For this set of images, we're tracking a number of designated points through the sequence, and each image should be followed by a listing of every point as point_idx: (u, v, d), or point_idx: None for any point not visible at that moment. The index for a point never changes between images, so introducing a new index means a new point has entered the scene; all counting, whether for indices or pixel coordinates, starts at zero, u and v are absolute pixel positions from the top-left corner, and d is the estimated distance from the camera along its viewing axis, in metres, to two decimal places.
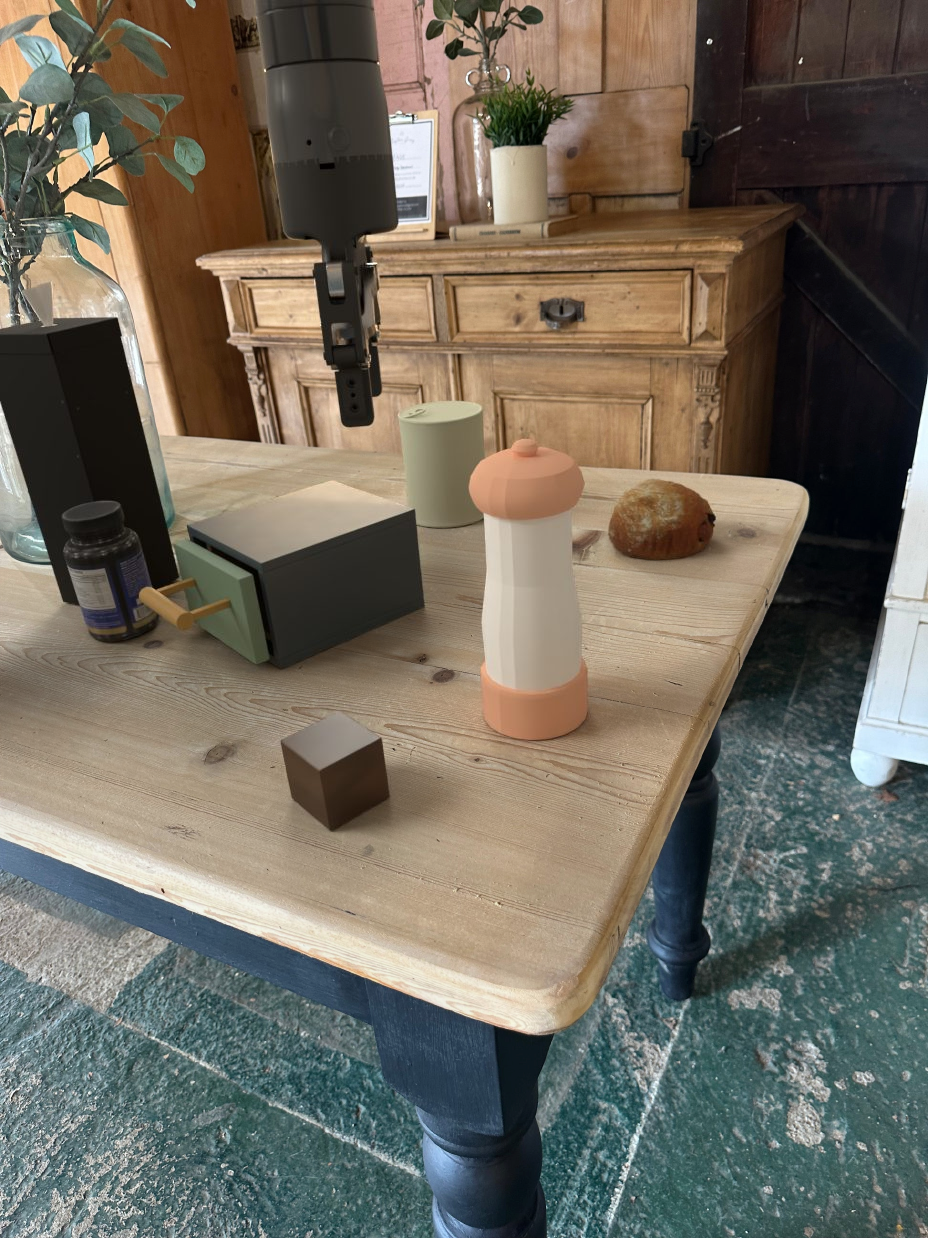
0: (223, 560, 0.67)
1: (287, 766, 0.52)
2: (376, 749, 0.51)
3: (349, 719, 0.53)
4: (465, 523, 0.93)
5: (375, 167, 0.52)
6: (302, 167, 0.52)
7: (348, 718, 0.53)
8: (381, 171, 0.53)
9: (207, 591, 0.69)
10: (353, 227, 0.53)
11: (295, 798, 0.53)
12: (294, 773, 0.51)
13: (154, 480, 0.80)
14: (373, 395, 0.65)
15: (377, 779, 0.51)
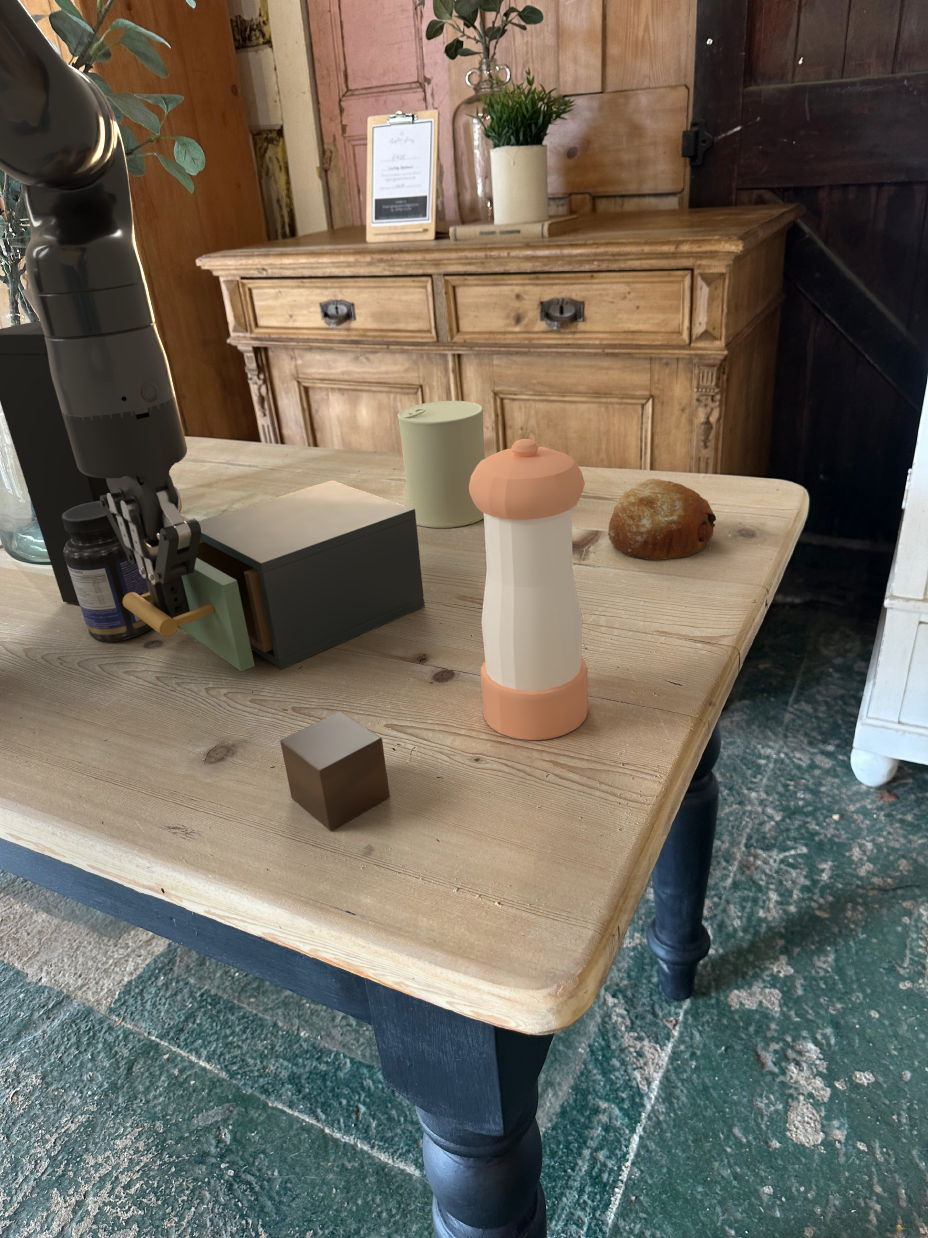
0: (207, 565, 0.66)
1: (287, 766, 0.52)
2: (376, 749, 0.51)
3: (349, 719, 0.53)
4: (465, 523, 0.93)
5: (174, 408, 0.60)
6: (118, 419, 0.56)
7: (348, 718, 0.53)
8: (177, 409, 0.60)
9: (191, 596, 0.68)
10: (169, 461, 0.59)
11: (295, 798, 0.53)
12: (294, 773, 0.51)
13: None
14: None
15: (377, 779, 0.51)
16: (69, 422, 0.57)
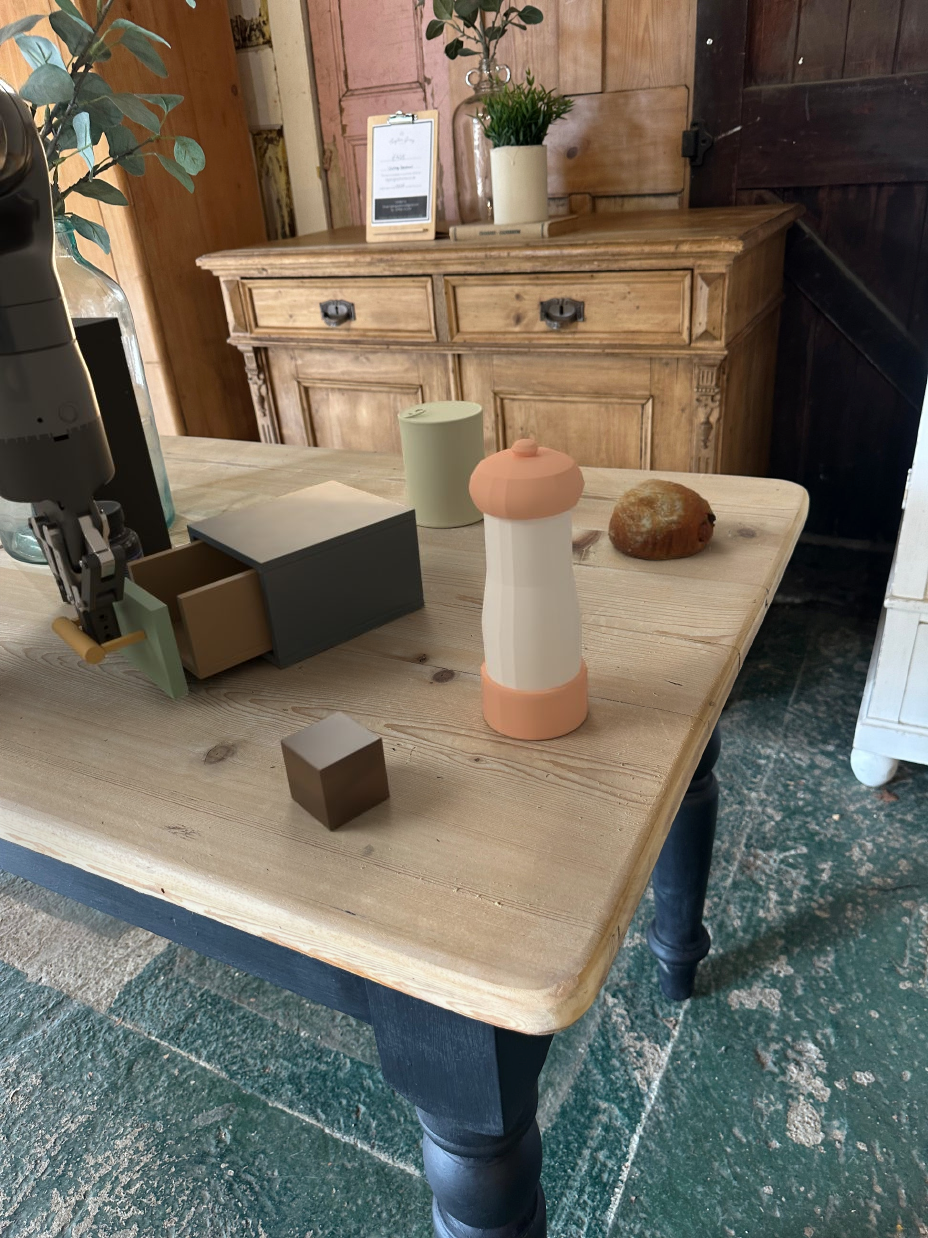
0: (139, 589, 0.63)
1: (287, 766, 0.52)
2: (376, 749, 0.51)
3: (349, 719, 0.53)
4: (465, 523, 0.93)
5: (98, 429, 0.57)
6: (34, 442, 0.54)
7: (348, 718, 0.53)
8: (101, 430, 0.57)
9: (125, 620, 0.65)
10: (92, 485, 0.57)
11: (295, 798, 0.53)
12: (294, 773, 0.51)
13: (154, 480, 0.80)
14: None
15: (377, 779, 0.51)
16: None
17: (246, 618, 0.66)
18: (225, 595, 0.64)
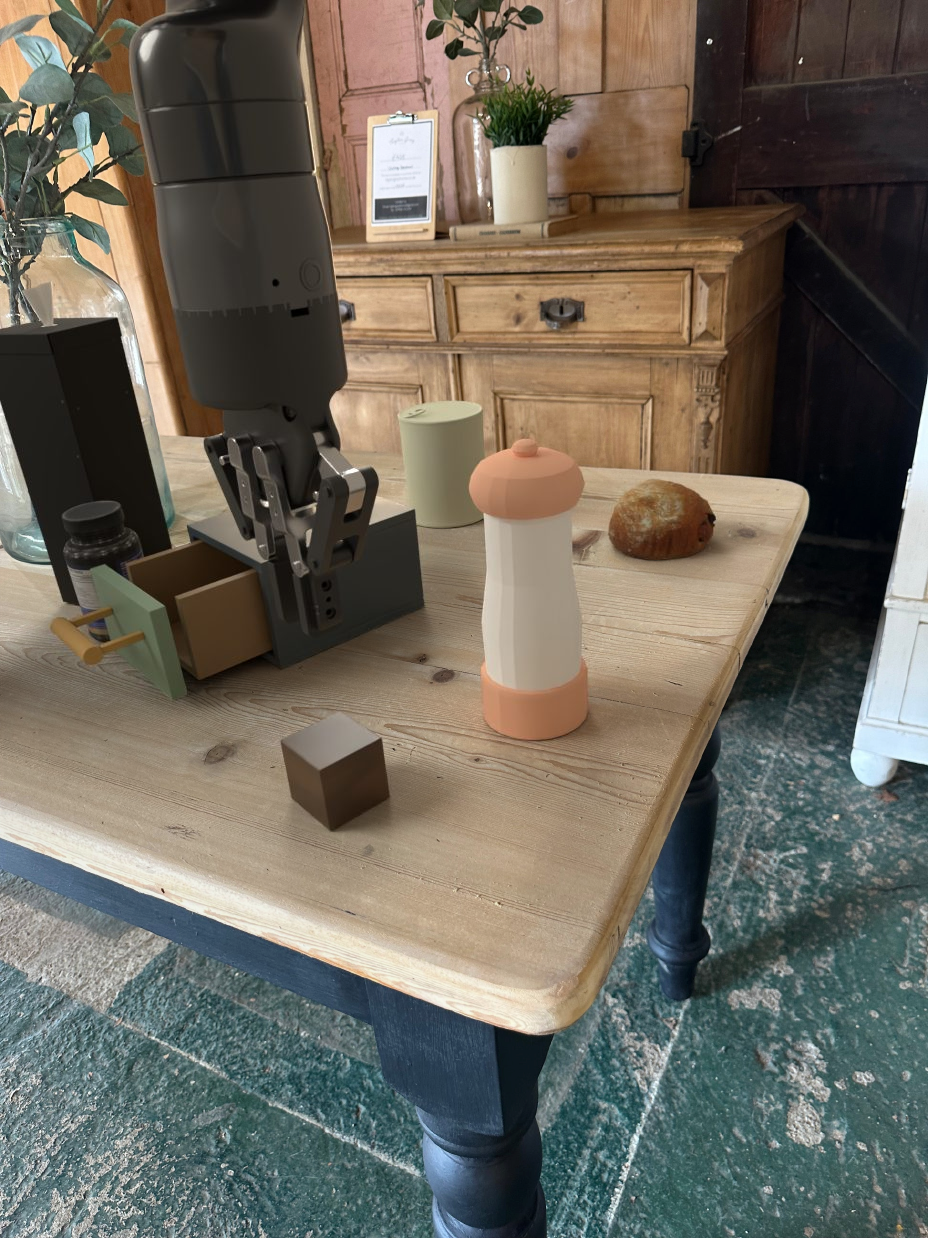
0: (138, 589, 0.63)
1: (287, 766, 0.52)
2: (376, 749, 0.51)
3: (349, 719, 0.53)
4: (465, 523, 0.93)
5: (338, 307, 0.40)
6: (265, 316, 0.37)
7: (348, 718, 0.53)
8: (339, 311, 0.40)
9: (123, 621, 0.65)
10: (330, 386, 0.40)
11: (295, 798, 0.53)
12: (294, 773, 0.51)
13: (154, 480, 0.80)
14: None
15: (377, 779, 0.51)
16: (187, 322, 0.38)
17: (245, 619, 0.66)
18: (223, 596, 0.64)
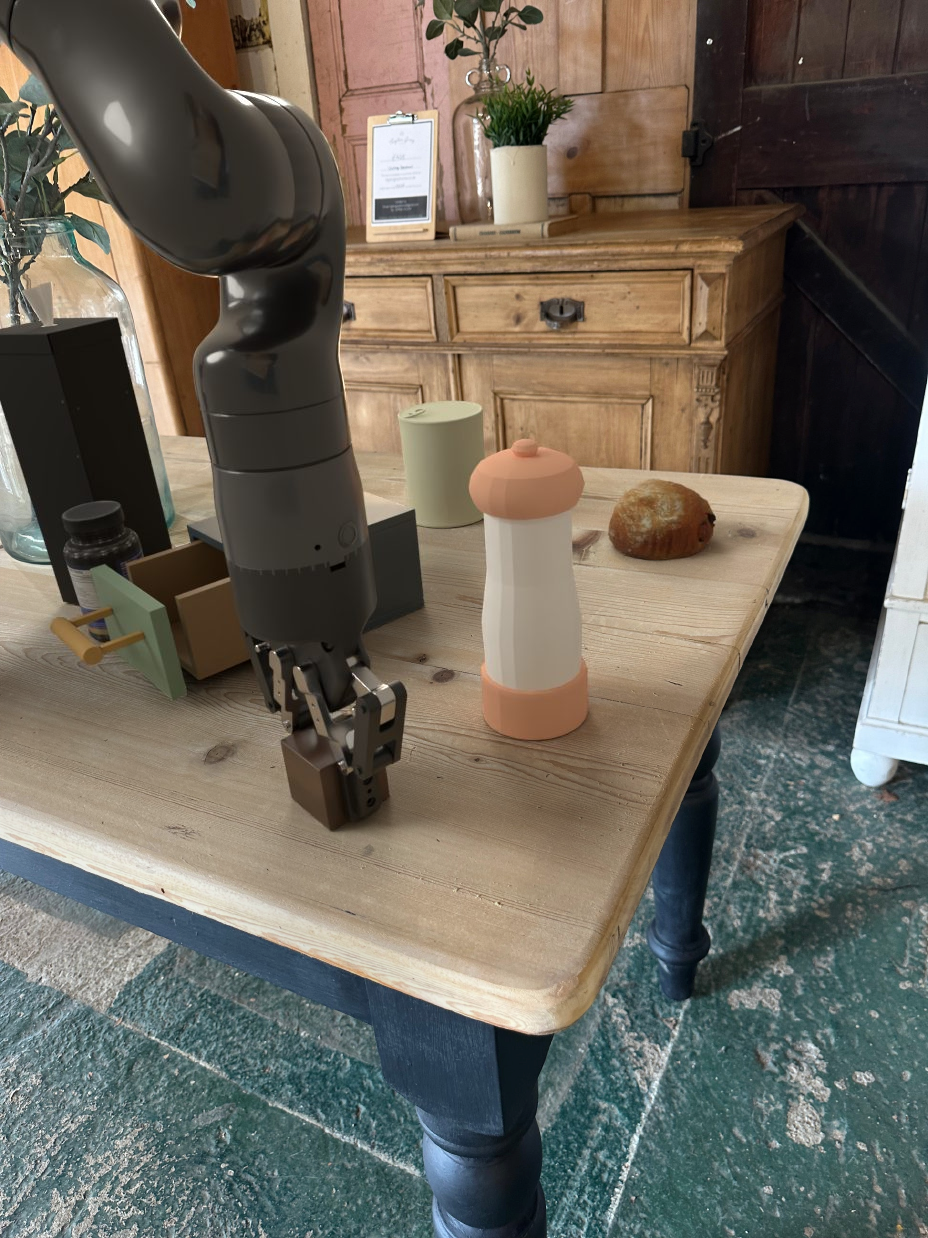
0: (138, 589, 0.63)
1: (287, 766, 0.52)
2: None
3: None
4: (465, 523, 0.93)
5: (369, 548, 0.45)
6: (308, 574, 0.42)
7: None
8: (370, 549, 0.46)
9: (123, 621, 0.65)
10: (363, 619, 0.45)
11: (295, 798, 0.53)
12: (294, 773, 0.51)
13: (154, 480, 0.80)
14: None
15: None
16: (239, 574, 0.43)
17: None
18: (223, 596, 0.64)
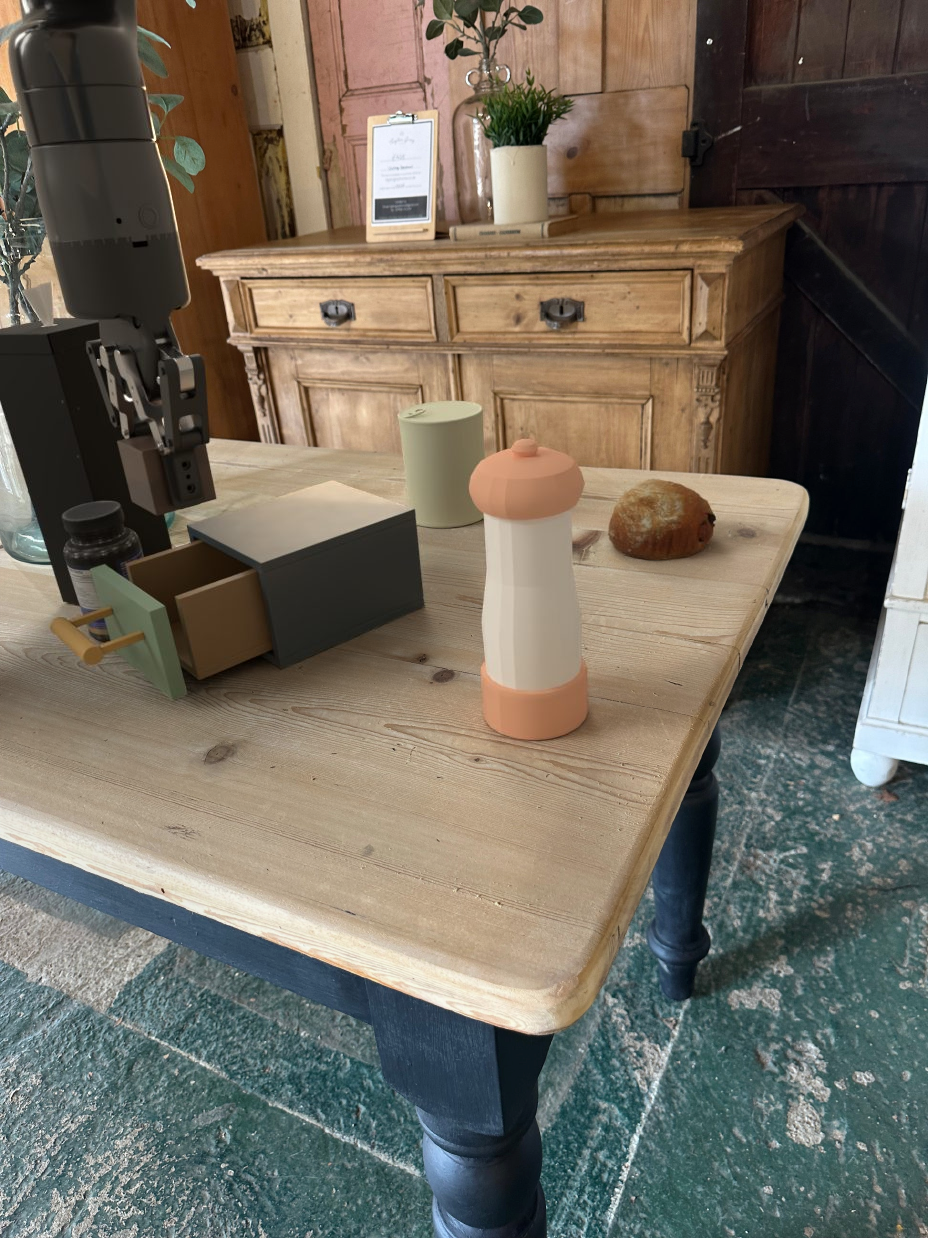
0: (138, 589, 0.63)
1: (124, 466, 0.59)
2: (199, 447, 0.58)
3: None
4: (465, 523, 0.93)
5: (177, 244, 0.53)
6: (112, 246, 0.49)
7: None
8: (180, 247, 0.53)
9: (123, 621, 0.65)
10: (170, 303, 0.52)
11: (133, 498, 0.60)
12: (129, 470, 0.59)
13: None
14: None
15: (202, 477, 0.59)
16: (57, 250, 0.50)
17: (245, 619, 0.66)
18: (223, 596, 0.64)
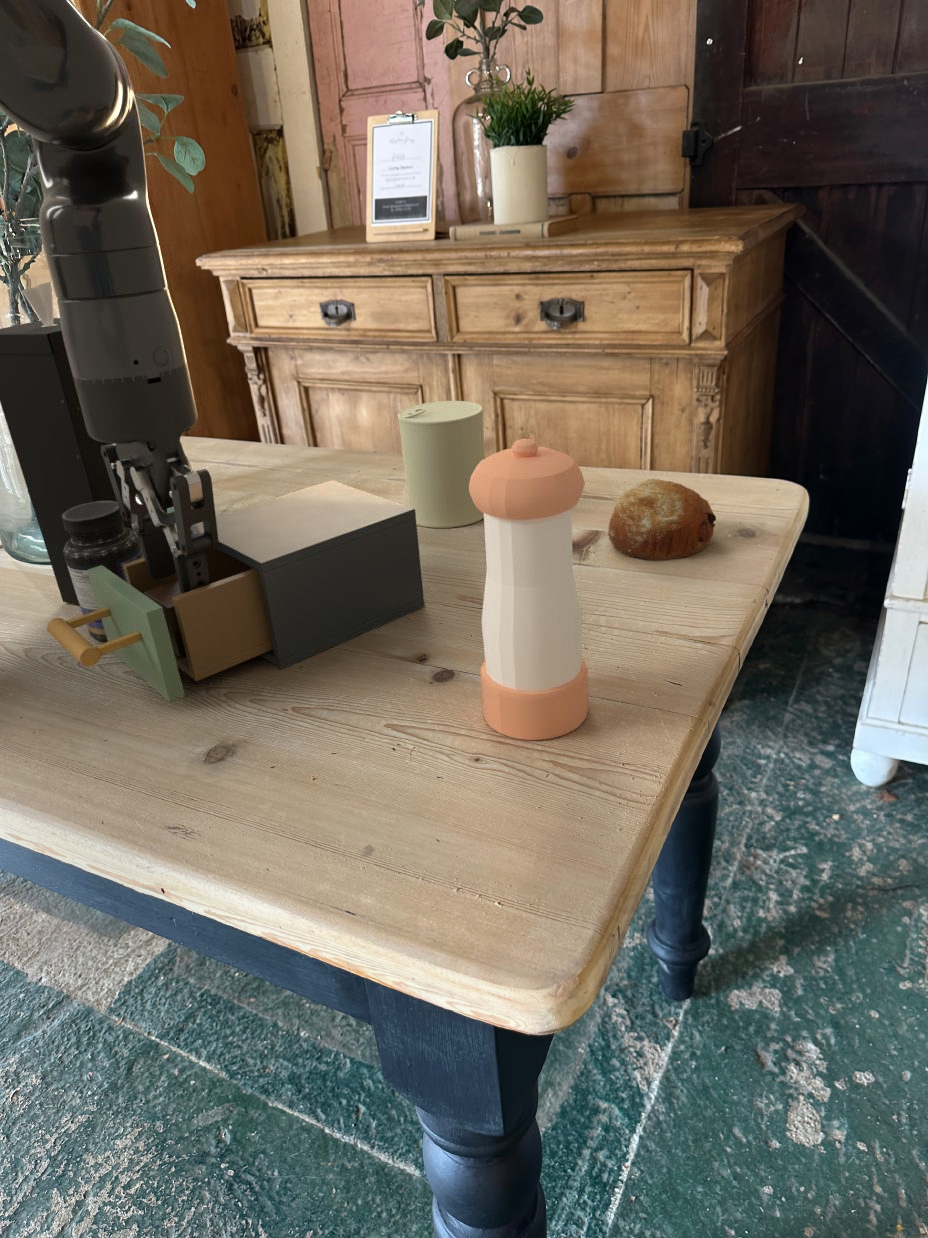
0: (135, 590, 0.63)
1: None
2: None
3: None
4: (465, 523, 0.93)
5: (186, 374, 0.59)
6: (130, 383, 0.56)
7: None
8: (188, 376, 0.60)
9: (120, 622, 0.65)
10: (180, 427, 0.59)
11: None
12: None
13: None
14: (170, 573, 0.69)
15: None
16: (80, 386, 0.57)
17: (242, 620, 0.65)
18: (221, 597, 0.64)
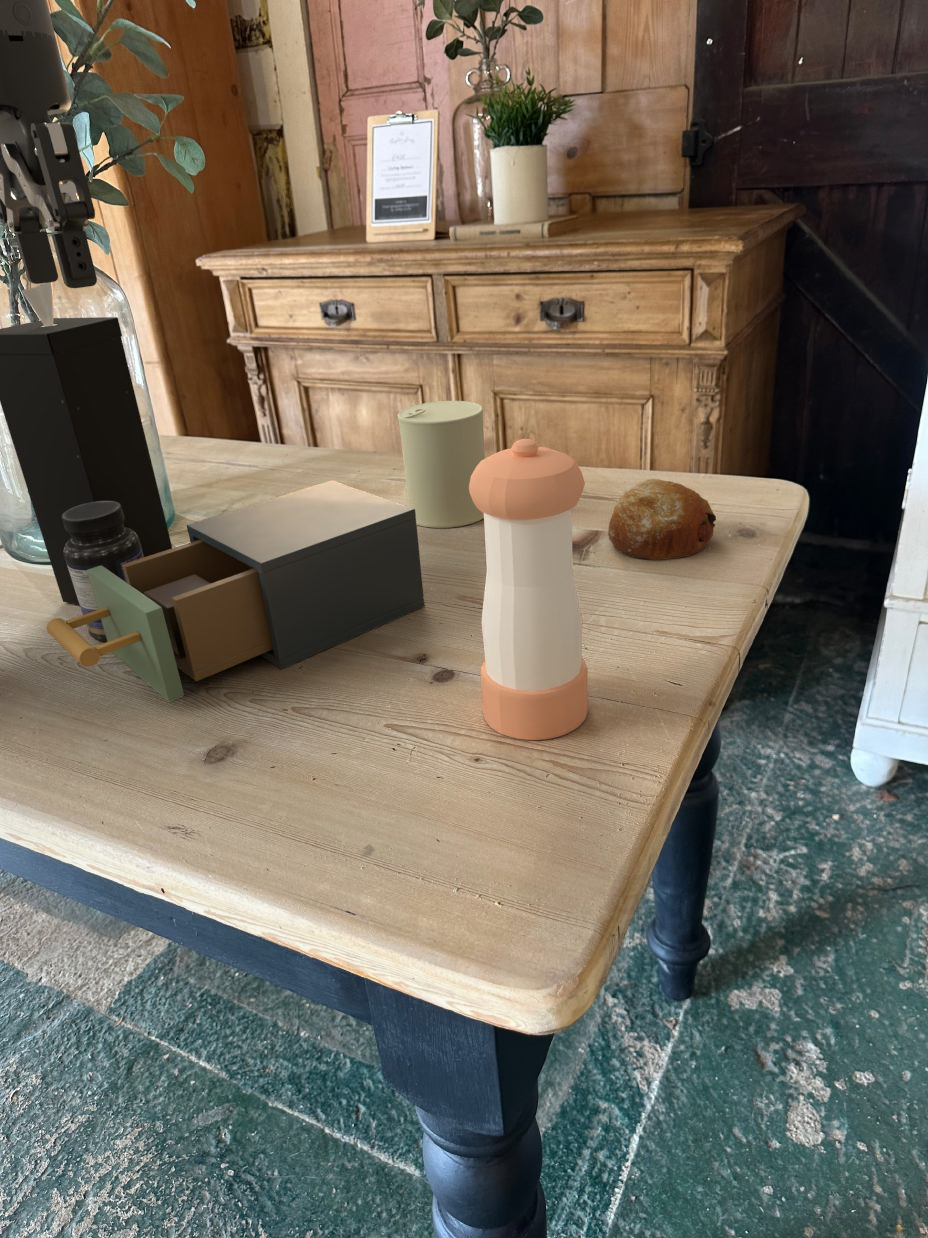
0: (134, 590, 0.63)
1: None
2: None
3: (199, 578, 0.69)
4: (465, 523, 0.93)
5: (53, 46, 0.60)
6: None
7: (199, 578, 0.69)
8: (57, 51, 0.60)
9: (120, 622, 0.65)
10: (47, 98, 0.59)
11: None
12: None
13: (154, 480, 0.80)
14: (50, 280, 0.69)
15: None
16: None
17: (242, 620, 0.65)
18: (220, 597, 0.64)
